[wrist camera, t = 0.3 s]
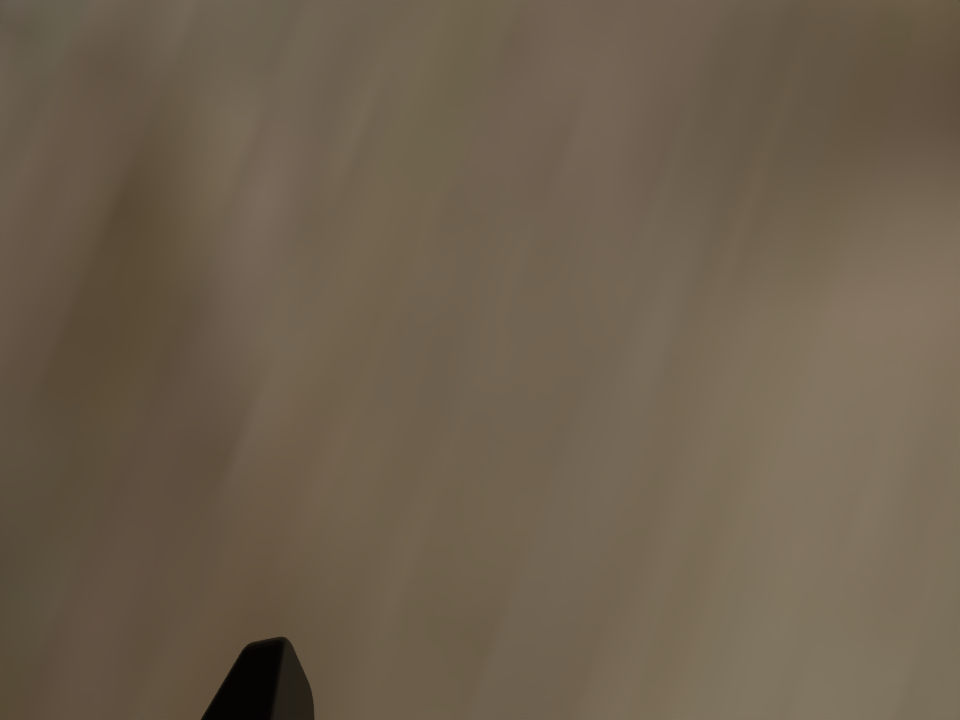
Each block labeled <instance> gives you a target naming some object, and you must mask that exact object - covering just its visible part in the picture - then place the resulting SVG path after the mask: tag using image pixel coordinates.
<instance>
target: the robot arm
mask: <svg viewBox="0 0 960 720" xmlns="http://www.w3.org/2000/svg"><path fill="white" fill-rule="evenodd" d="M201 720H314V704H313V697H312V692H311V688H310V685H309V682H308V680H307V677H306V675H305V673H304V671H303V668H302V666H301V664H300V662H299V659H298V657H297V655H296V653H295V650H294V648H293V646H292V644H291V642H290V641H289V640H288V639H287V638H285V637H276V638H271V639H266V640H261V641H256V642H252V643H250V644H248V645H247V646H246V647H245V648H244V649H243V650H242V652H241V653H240V655H239V657H238V658H237V660H236V662H235V663H234V665H233V667H232V668H231V670H230V672H229V673H228V675H227V677H226V678H225V680H224V682H223V683H222V685H221V687H220V688H219V690H218V692H217V693H216V695H215V697H214V698H213V700H212V702H211V703H210V705H209V707H208V708H207V710H206V712H205V713H204V715H203V717H202V718H201Z"/></svg>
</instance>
